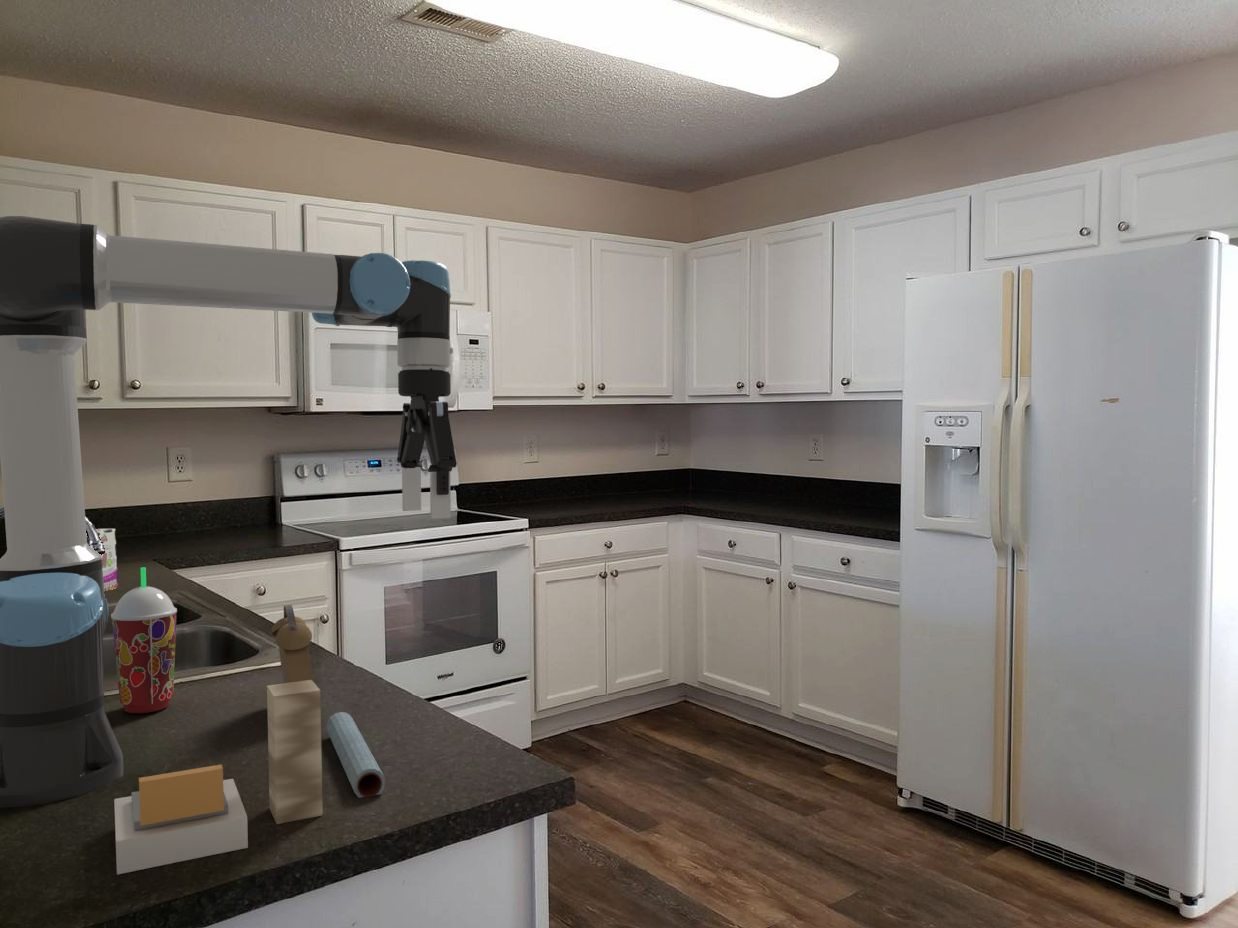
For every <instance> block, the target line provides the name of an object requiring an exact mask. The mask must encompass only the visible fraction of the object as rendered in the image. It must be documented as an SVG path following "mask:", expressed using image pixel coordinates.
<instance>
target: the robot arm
mask: <svg viewBox="0 0 1238 928" xmlns="http://www.w3.org/2000/svg"><path fill="white" fill-rule="evenodd" d="M449 274H450V273H449V270H448V267H446V265H444V264H442V262H437V261H432V260H422V259H421V260H404V261H400V260H399V259H398V258H396V257H395V256H394V255H391V254H388V253H385V252H372V253H367V254H364V255H362V256H359V255H348V254H347V255H346V254H333V253H323V252H311V251H300V250H288V249H277V248H265V247H252V246H241V245H229V244H217V243H206V242H205V243H203V242H195V241H193V242H192V241H183V240H181V241H180V240H170V239H157V238H147V237H133V236H122V235H111V234H108V233H106V232H105V230H103V229H102V228H101V227H100V226H99V225H98V224H92V223H91V224H87V223H79V222H78V223H77V222H70V221H62V220H55V219H48V218H47V219H46V218H40V217H33V216H32V217H31V216H24V215H6V216H0V469H1V470H0V472H1V482H2V483H1V484H2V486H1V487H2V496H3V497H2V499H3V500H2V501H3V510H4V511H3V512H4V523H5V537H6V548H7V549H6V552H5V553H4V554H3V555H2V557H1V558H0V808H19V807H20V808H21V807H30V806H39V805H45V804H49V803H55V802H58V801H65V800H67V799H71V798H75V797H79V796H81V795H85V794H88V793H91V792H94V791H96V790H99V789H100V788H103V787H105V786H107V785H109V784H110V783H112V782H114V781H115V780H116V779H118V778H123V776H124V756H123V752H122V749H121V747H120V745H119V743H118V741H117V738H116V736H115V733H114V730H113V728H112V726H111V723H110V720H109V719H108V716H107V714H106V710H105V693H104V692H105V683H104V680H105V679H104V653H103V652H104V647H103V646H104V645H103V644H104V642H103V641H104V640H103V639H104V634H105V633H104V632H105V631H106V627H107V623H108V619H109V603H108V599H107V598H105V594H104V583H103V569H102V557H101V554H99V553H98V552H97V551H95V550H94V549H93V548H91V547H90V546H89V545H88V543H87V535H86V531H87V524H86V523H87V522H86V511H85V510H86V509H85V507H86V506H85V496H84V480H83V467H82V465H83V464H82V452H81V451H82V449H81V439H80V436H81V435H80V423H79V411H78V410H79V409H78V395H77V394H78V393H77V383H76V382H77V380H76V366H75V355H76V353H77V352H78V351H79V350H80V349H81V348H82V347H84V345H85V344H86V343H87V341H88V340H87V329H86V328H87V326H86V325H87V323H86V312H85V310H87V311H88V310H91V311H100V310H102V309H103V308H104V307H105V306H106V305H108V304H110V303H119V304H120V303H121V304H137V305H140V304H141V305H159V306H175V307H176V306H179V307H197V308H199V307H200V308H214V309H215V308H218V309H235V310H236V309H237V310H252V311H253V310H254V311H255V310H256V311H257V310H259V311H273V312H274V311H276V312H294V313H297V312H298V313H309V314H310V313H311V316H312V319H313V320H314V322H316V323H319V324H325V325H334V326H335V327H340V326H360V327H362V326H363V327H364V326H365V327H387V328H397V347H396V348H397V352H396V353H397V366H398V367H399V368H401V370H399V372H398V373H397V387H398V389H397V391H398V392H397V393H398V395H399V396H400V397H410V402H404V403H403V405H402V422H401V427H400V428H401V429H400V434H399V435H400V436H399V445H398V449H397V450H398V451H397V458H396V461H397V463H398V464H400V467H401V481H402V482H401V484H402V485H401V486H402V487H401V488H402V490H401V493H402V495H401V496H402V499H401V500H402V507H401V509H402V512H409V511H410V512H413V511H414V512H415V511H417V512H418V511H422V468H423V467H424V465H423V462H422V460H420V459H421V456H422V453H423V449H424V445H426V449H427V453H428V456H429V461H430V463H431V464H429V467H428V469H427V472H428V473H429V487H430V489H429V490H430V491H429V493H430V494H429V495H430V496H429V497H430V500H429V502H430V506H429V507H430V511H429V512H430V515H429V516H430V517H429V518H430V519H431V520H436V519H451V518H452V516H451V513H452V512H451V509H452V508H451V507H452V505H451V503H452V502H451V500H452V499H451V497H452V496H451V472H452V470H453V469H455V468H456V467H457V464H458V463H457V457H456V452H455V445H454V440H453V435H452V429H451V424H450V418H449V402H448V401H440V399H439V398H441V397H443V398H444V397H449V396H450V395H451V391H452V390H451V384H452V383H451V372H449V371H448V370H447V369H448V368H449V367H450V366H451V355H452V354H453V353H454V349H453V347H451V343H450V342H451V340H450V337H451V336H450V335H451V334H450V331H451V330H450V328H451V327H450V323H451V322H450V321H451V297H452V295H451V287H450V276H449Z"/></svg>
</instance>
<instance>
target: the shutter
mask: <svg viewBox="0 0 1238 928" xmlns="http://www.w3.org/2000/svg"><path fill="white" fill-rule="evenodd" d="M223 780H224V767H223V765H222V764H217V765H209V766H204V767H198V768H197V767H196V768H191V769H185V770H179V771H173V772H168V773H167V772H166V773H159V774H154V775H150V776H149V775H148V776H143V777H138V791H131V796H132V810H133V822H134V831H135V830H140V829H146V828H151V827H156V826H162V825H167V824H172V823H178V822H183V821H188V820H194V819H199V818H204V817H210V816H215V815H220V814H226V813H228V803H227V800H226V797H225V794H224V791H223Z"/></svg>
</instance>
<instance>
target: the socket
mask: <svg viewBox="0 0 1238 928" xmlns="http://www.w3.org/2000/svg"><path fill="white" fill-rule="evenodd" d="M223 791H224V794H225V797H226V800H227V803H228V813H226V814H220V815H215V816H210V817H204V818H199V819H194V820H188V821H183V822H178V823H172V824H167V825H162V826H156V827H151V828H146V829H140V830H135V831H134V822H133V810H132V795H129V796H124V797H118V798H114V827H115V832H114V833H115V853H116V854H115V855H116V856H115V859H116V860H115V861H116V875H121V874H127V873H131V872H136V871H140V870H145V869H150V868H154V867H155V868H156V867H161V866H165V865H166V866H167V865H171V864H174V863H175V864H177V863H179V862H185V861H190V860H194V859H199V858H204V857H208V856H213V855H218V854H225V853H228V852H232V851H233V852H234V851H238V850H242V849H248V848H249V841H248V840H249V838H248V833H249V831H248V830H249V829H248V815H247V812H246V809H245V807H244V804H243V801H242V799H241V796H240V793H239V790H238V789H237V785H236V783H235V780H234V778H229V779H223Z"/></svg>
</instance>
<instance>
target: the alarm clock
mask: <svg viewBox="0 0 1238 928" xmlns="http://www.w3.org/2000/svg"><path fill="white" fill-rule="evenodd" d="M271 634H272V636H274V637H275V643H276V645H277V646H278V649H279V652H278V653H279V658H280V666H281V667H280V668H281V675H282V681H283V683H290V682H298V681H306V680H312V681H313V682H314V676H313V669H312V668H313V667H312V662H311V657H310V651H309V644H310V643H311V642H312V640H313V633H312V630H311V629H310V627H309V626H307V624H306V621H305V620H304V619H303V618H301V617H298V616H295V612H294V608H293V605H292V604H287V605H286V604H285V605H283V618H281V619H279V620H277V621H276V622H275V623H274V624H273V626H272V628H271Z"/></svg>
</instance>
